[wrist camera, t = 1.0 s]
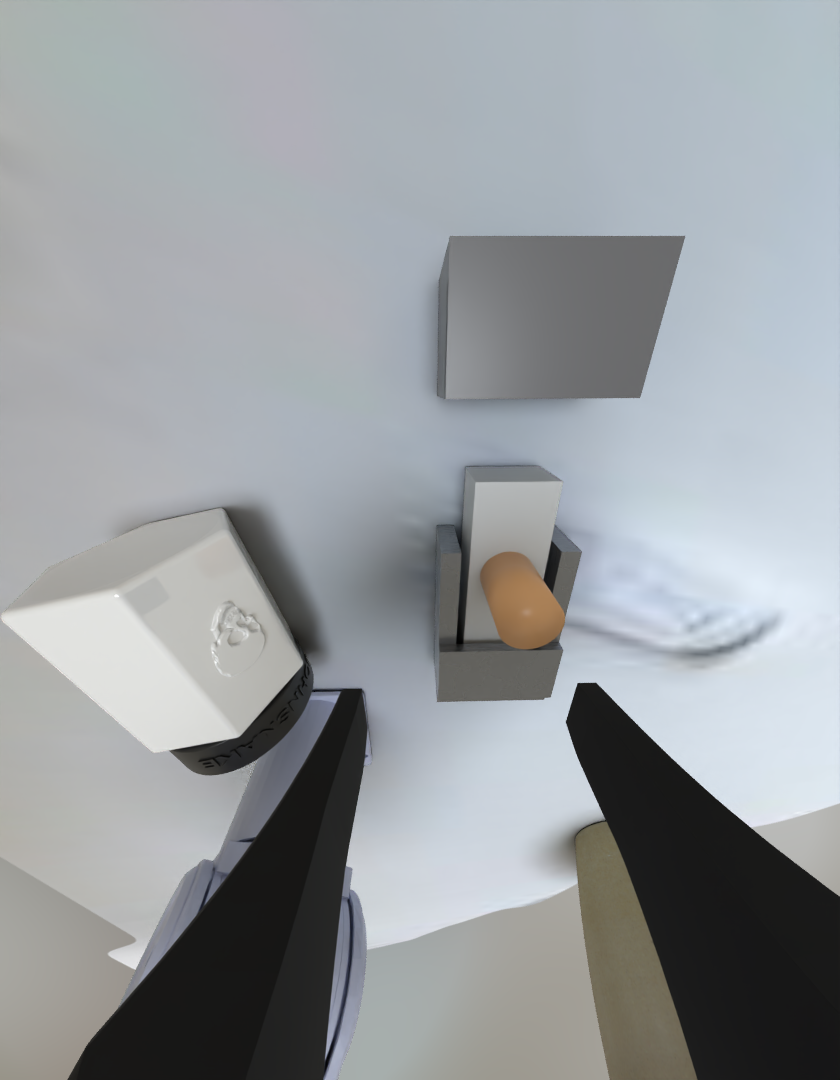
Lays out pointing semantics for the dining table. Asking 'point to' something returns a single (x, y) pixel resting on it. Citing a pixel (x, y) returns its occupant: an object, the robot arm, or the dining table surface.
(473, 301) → the dark gray rectangular block
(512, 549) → the slab with tan knob
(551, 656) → the sleeve
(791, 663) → the dining table surface
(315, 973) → the robot arm
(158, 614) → the jar
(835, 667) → the dining table surface
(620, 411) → the dining table surface
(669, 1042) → the plant pot
